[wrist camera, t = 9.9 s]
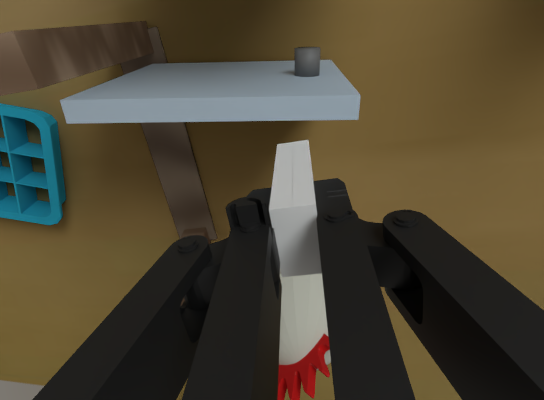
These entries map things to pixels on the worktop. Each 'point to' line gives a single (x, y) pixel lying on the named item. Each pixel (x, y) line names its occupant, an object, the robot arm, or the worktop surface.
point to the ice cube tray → (30, 167)
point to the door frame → (132, 56)
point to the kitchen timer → (302, 335)
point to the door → (221, 93)
